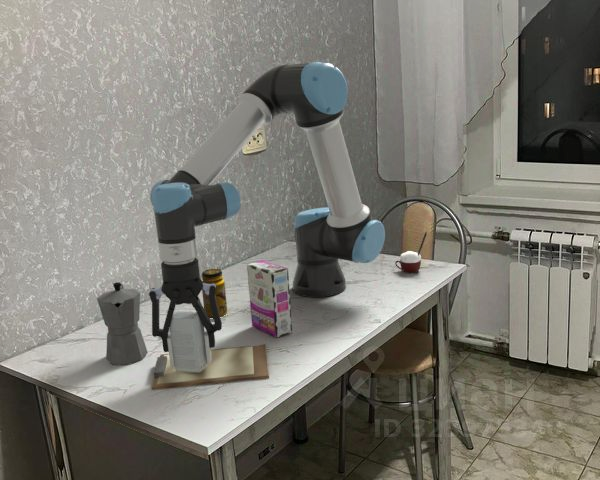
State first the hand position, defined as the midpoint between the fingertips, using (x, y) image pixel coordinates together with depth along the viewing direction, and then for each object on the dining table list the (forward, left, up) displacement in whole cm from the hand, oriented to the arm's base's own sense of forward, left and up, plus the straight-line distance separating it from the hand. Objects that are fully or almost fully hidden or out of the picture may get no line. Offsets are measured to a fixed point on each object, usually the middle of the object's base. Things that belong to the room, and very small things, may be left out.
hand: (191, 362), depth 140 cm
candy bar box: (-18, -21, -3) cm, 28 cm away
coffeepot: (+16, -14, -3) cm, 21 cm away
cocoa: (-62, -56, -3) cm, 83 cm away
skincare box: (0, 0, -1) cm, 1 cm away
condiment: (-3, -35, -3) cm, 35 cm away
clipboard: (-4, -3, -3) cm, 6 cm away
